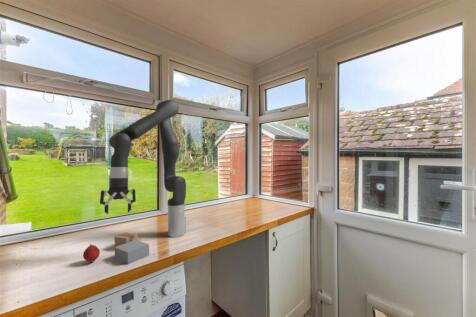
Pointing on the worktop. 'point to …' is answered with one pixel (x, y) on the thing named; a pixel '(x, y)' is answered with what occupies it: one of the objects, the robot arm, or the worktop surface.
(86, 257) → the onion
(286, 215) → the worktop surface
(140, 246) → the grey block
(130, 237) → the walnut block
